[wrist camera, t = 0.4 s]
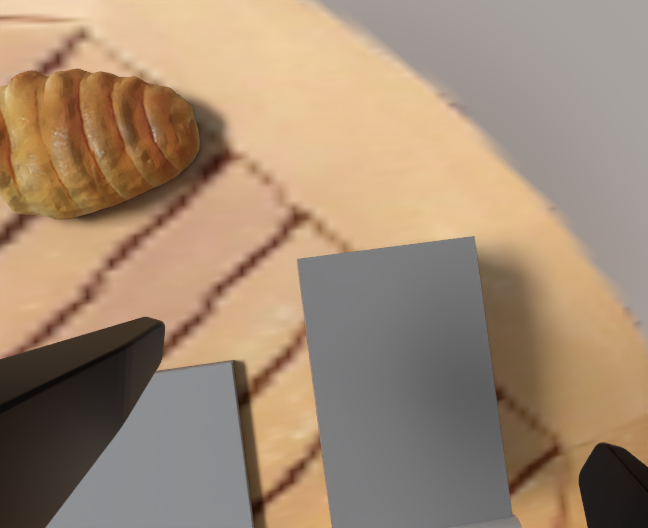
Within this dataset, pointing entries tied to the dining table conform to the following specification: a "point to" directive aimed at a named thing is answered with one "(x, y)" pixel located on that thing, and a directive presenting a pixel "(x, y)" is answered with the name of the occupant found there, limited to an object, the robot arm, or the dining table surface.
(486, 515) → the block
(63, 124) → the pastry
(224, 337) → the dining table surface
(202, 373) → the mat
